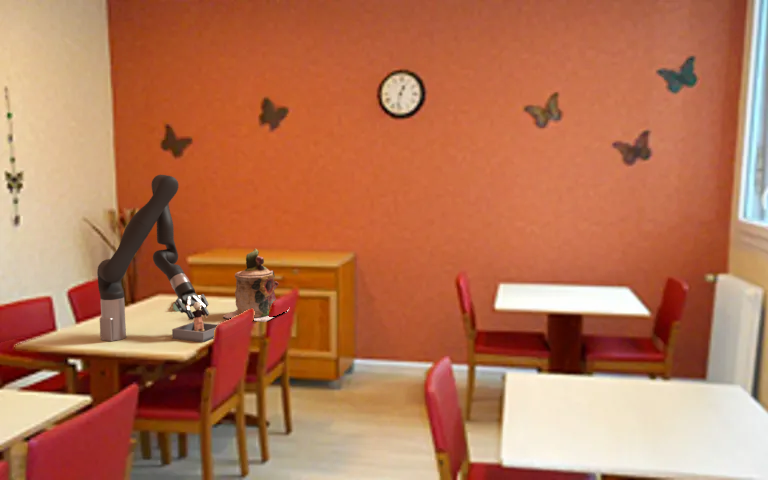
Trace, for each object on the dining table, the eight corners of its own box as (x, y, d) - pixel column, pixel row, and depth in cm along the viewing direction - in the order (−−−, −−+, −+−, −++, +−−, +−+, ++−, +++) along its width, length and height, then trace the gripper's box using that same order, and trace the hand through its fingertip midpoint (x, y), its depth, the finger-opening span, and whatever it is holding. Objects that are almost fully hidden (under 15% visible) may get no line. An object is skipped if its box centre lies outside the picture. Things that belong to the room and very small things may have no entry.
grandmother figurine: (204, 328, 290) (203, 299, 288) (208, 330, 287) (207, 301, 285) (187, 331, 285) (186, 302, 283) (191, 333, 282) (190, 304, 280)
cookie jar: (220, 319, 317) (218, 252, 314) (246, 308, 341) (244, 245, 337) (268, 322, 310) (266, 253, 306) (290, 311, 333) (289, 247, 330)
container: (179, 290, 358) (175, 298, 334) (190, 294, 359) (187, 302, 335) (175, 300, 358) (171, 309, 334) (186, 304, 360) (182, 313, 335)
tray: (203, 342, 276) (203, 332, 276) (172, 338, 283) (172, 329, 282) (224, 334, 289) (224, 325, 289) (194, 330, 295) (193, 321, 295)
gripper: (171, 283, 282) (189, 315, 276) (199, 278, 294) (217, 309, 288) (164, 294, 286) (182, 325, 280) (192, 289, 297) (210, 319, 292)
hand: (200, 317), depth 284 cm, fingers closed on grandmother figurine, 6 cm apart
